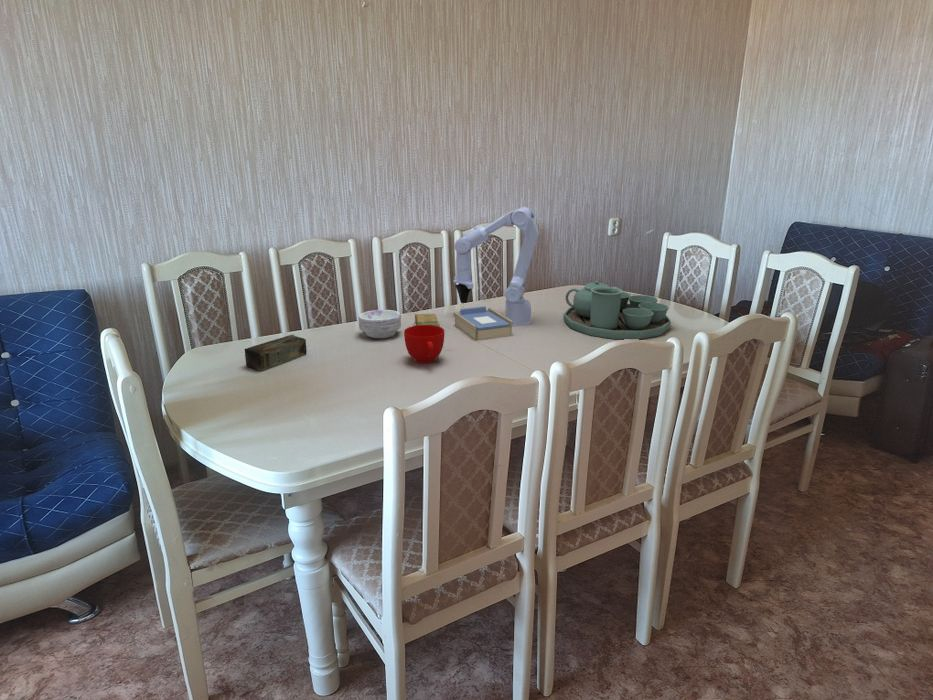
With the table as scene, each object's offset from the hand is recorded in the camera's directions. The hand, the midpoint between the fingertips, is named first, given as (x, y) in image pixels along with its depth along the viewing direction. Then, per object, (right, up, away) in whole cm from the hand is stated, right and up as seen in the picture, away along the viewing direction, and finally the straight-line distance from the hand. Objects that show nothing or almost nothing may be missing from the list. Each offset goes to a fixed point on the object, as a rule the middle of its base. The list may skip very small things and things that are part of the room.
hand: (463, 302), depth 237 cm
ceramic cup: (-12, -23, -43) cm, 50 cm away
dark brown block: (-60, -23, -42) cm, 77 cm away
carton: (-14, -11, -10) cm, 21 cm away
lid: (+7, -8, -15) cm, 18 cm away
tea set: (+59, -9, -4) cm, 60 cm away
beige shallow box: (+7, -12, -13) cm, 19 cm away
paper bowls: (-30, -13, -17) cm, 37 cm away
